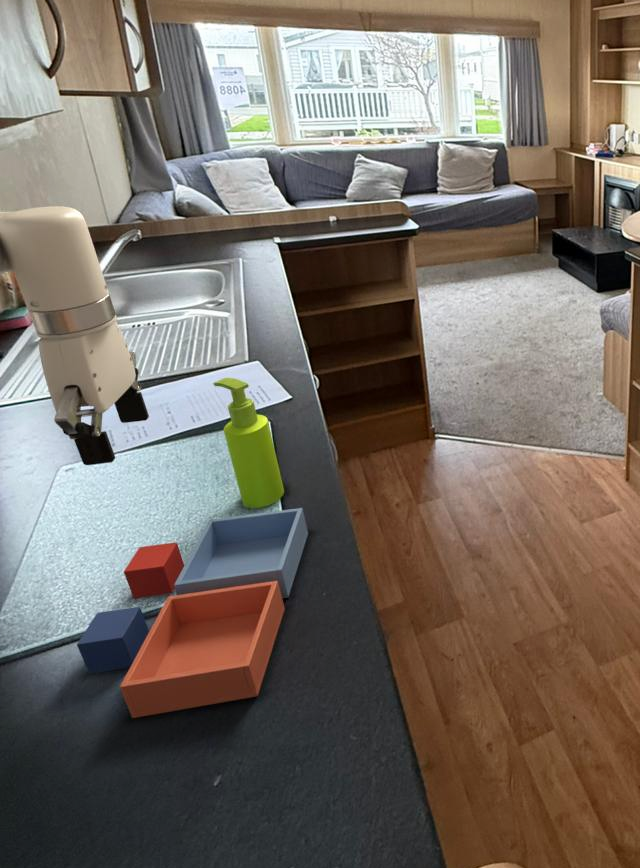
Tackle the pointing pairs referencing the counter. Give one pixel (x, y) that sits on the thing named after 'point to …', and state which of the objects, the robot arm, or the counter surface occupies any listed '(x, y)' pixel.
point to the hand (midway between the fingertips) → (118, 440)
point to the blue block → (113, 639)
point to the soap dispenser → (251, 449)
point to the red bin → (205, 649)
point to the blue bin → (246, 552)
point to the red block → (154, 570)
